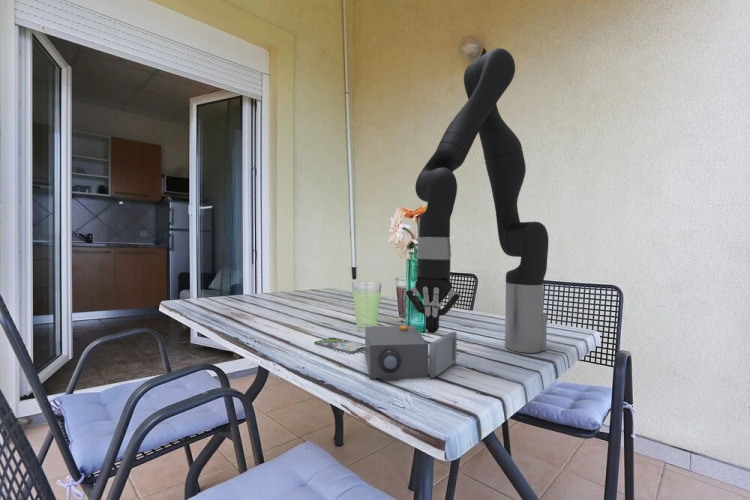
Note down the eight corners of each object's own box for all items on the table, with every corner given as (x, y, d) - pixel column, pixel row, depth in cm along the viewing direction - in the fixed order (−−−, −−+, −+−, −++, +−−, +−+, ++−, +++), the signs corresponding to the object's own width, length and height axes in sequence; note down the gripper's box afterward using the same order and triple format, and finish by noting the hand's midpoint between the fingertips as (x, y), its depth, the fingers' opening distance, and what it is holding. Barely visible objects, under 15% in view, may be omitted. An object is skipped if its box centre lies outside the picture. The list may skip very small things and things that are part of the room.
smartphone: (332, 337, 104) (371, 345, 94) (332, 340, 104) (371, 349, 94) (312, 342, 99) (351, 352, 89) (312, 346, 99) (351, 356, 89)
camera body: (413, 353, 90) (414, 322, 90) (430, 379, 73) (430, 341, 73) (365, 354, 89) (365, 323, 89) (370, 381, 72) (370, 343, 72)
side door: (457, 361, 83) (458, 332, 83) (435, 378, 73) (435, 345, 73) (451, 360, 84) (452, 331, 83) (428, 376, 74) (428, 343, 74)
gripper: (401, 256, 82) (399, 332, 82) (459, 258, 76) (457, 339, 77) (411, 255, 89) (410, 325, 89) (466, 257, 83) (464, 332, 83)
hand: (432, 332), depth 83 cm, fingers closed
